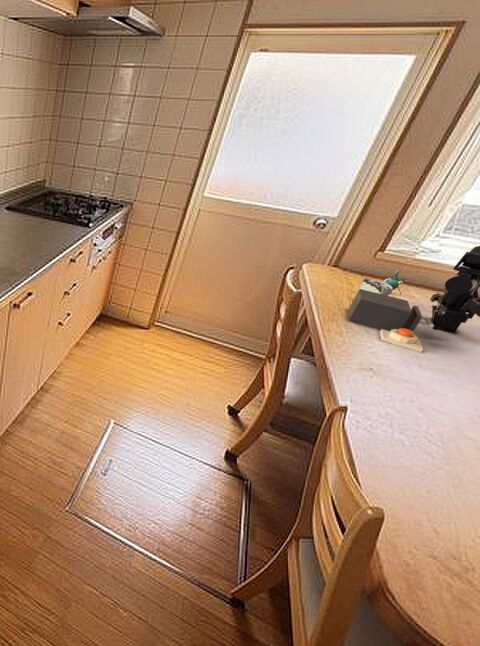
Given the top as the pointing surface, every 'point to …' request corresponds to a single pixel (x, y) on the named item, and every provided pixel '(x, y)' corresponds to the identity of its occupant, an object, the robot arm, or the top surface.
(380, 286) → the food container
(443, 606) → the top surface
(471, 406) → the top surface
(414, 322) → the fryer drawer
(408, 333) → the button
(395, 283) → the frog figurine
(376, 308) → the charcoal rectangular box
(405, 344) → the block
